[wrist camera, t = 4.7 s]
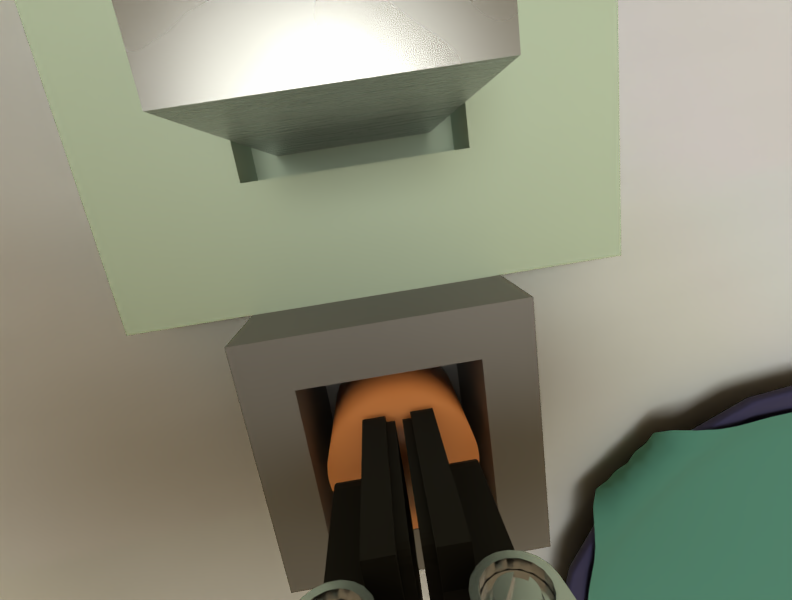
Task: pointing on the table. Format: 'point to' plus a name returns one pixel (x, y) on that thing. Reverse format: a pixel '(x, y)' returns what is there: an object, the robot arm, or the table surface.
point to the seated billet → (314, 65)
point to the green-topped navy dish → (697, 513)
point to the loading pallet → (354, 246)
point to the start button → (396, 420)
